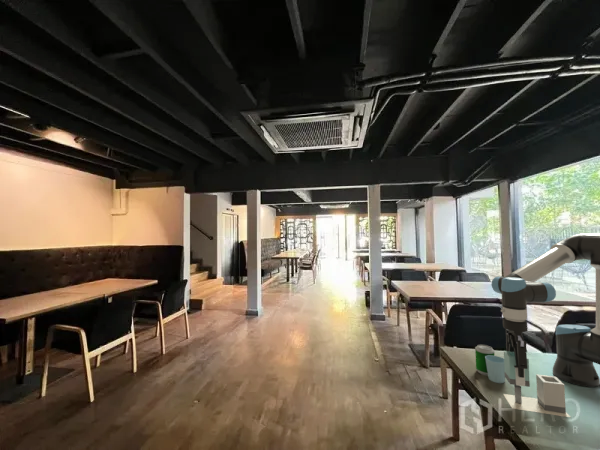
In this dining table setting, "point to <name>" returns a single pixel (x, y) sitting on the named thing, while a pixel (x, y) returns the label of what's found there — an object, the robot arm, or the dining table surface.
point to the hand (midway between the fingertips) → (517, 380)
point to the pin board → (527, 403)
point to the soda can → (482, 358)
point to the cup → (495, 368)
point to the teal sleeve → (513, 368)
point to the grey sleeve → (551, 393)
